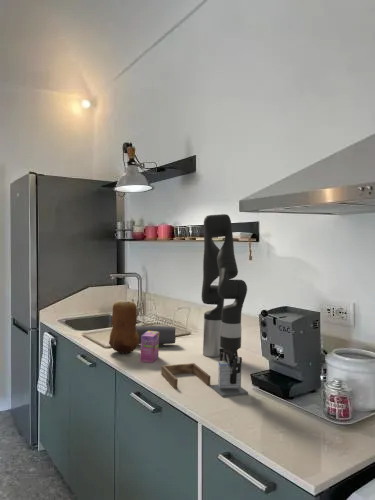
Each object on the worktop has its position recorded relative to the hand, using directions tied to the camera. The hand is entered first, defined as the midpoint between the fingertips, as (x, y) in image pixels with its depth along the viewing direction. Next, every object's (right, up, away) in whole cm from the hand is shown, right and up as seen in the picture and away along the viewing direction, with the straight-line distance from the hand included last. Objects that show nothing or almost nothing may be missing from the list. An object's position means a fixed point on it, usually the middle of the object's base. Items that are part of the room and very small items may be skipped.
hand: (229, 380), depth 150 cm
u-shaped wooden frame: (-16, -3, +10) cm, 19 cm away
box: (-32, -2, +37) cm, 49 cm away
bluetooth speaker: (-33, -2, +62) cm, 71 cm away
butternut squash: (-46, -2, +47) cm, 66 cm away
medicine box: (0, -2, 0) cm, 2 cm away
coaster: (0, -4, 0) cm, 4 cm away
